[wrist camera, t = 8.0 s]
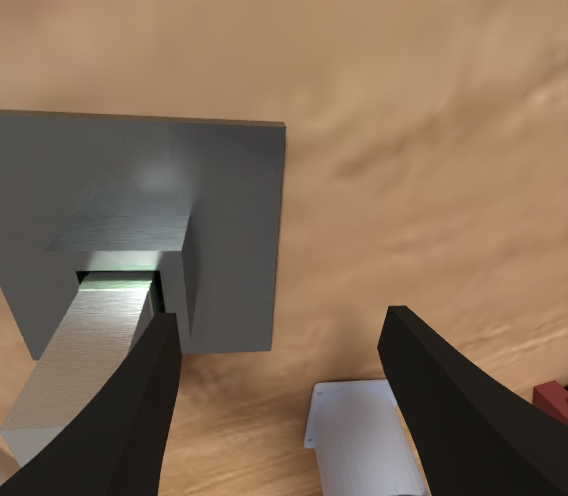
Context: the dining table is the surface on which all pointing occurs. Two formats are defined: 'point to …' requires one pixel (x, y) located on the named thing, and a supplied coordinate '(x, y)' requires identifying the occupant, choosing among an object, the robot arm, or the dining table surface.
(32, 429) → the post
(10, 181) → the stand
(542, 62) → the dining table surface
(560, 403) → the dark red bent panel
